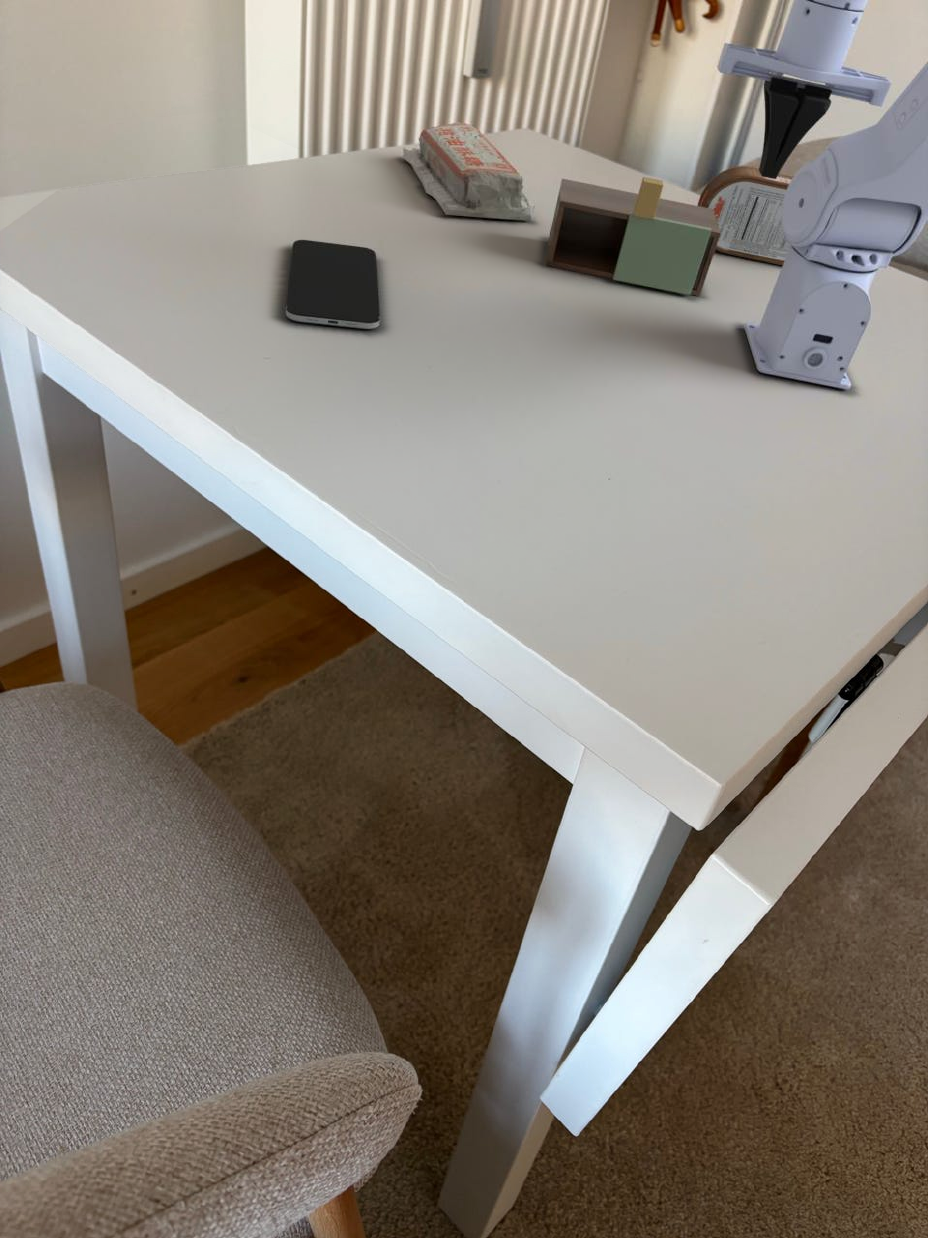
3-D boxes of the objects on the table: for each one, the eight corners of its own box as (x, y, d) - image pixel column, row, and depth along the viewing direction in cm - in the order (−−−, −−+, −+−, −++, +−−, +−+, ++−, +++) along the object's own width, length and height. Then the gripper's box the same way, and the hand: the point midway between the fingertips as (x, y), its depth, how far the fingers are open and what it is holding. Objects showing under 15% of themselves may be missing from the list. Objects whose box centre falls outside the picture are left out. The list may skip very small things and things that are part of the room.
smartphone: (284, 312, 71) (292, 237, 81) (284, 321, 71) (292, 245, 82) (381, 323, 72) (376, 248, 83) (380, 331, 72) (375, 255, 83)
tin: (820, 266, 102) (853, 185, 96) (825, 276, 99) (860, 194, 94) (685, 238, 101) (711, 156, 96) (688, 249, 99) (714, 165, 93)
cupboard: (699, 296, 89) (720, 232, 85) (546, 265, 89) (560, 200, 85) (693, 269, 94) (713, 208, 90) (548, 240, 94) (561, 178, 90)
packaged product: (544, 175, 94) (450, 168, 91) (534, 224, 97) (443, 218, 94) (490, 120, 106) (406, 112, 103) (483, 165, 109) (401, 158, 106)
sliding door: (690, 296, 88) (723, 197, 82) (612, 281, 88) (640, 180, 82) (689, 291, 89) (721, 192, 83) (612, 275, 89) (639, 175, 83)
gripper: (902, 12, 80) (834, 176, 89) (738, -24, 80) (687, 145, 89) (924, 27, 75) (850, 200, 84) (749, -11, 74) (693, 168, 84)
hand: (767, 174), depth 86 cm, fingers closed
